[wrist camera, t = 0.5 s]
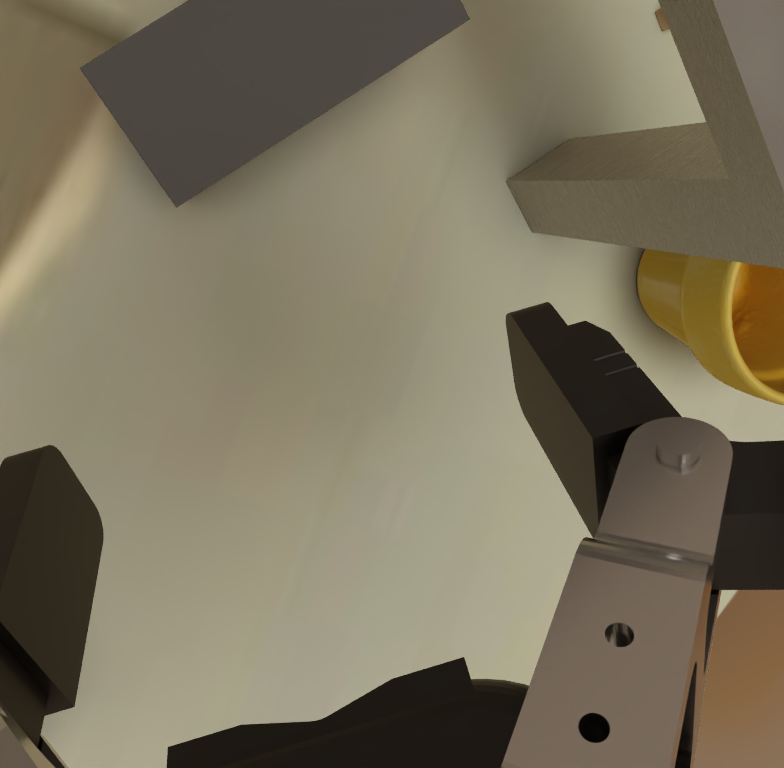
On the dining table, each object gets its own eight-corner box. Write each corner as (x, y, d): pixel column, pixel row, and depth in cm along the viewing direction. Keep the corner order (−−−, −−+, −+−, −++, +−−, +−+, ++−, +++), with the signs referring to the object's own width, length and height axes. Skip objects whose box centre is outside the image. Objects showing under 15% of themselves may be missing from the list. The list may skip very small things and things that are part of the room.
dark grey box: (114, 101, 33) (79, 68, 23) (360, -53, 33) (422, -146, 24) (183, 201, 34) (176, 207, 25) (415, 52, 35) (493, 3, 26)
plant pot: (766, 159, 41) (929, 152, 32) (771, 338, 44) (921, 379, 35) (596, 196, 39) (718, 199, 30) (614, 380, 42) (729, 435, 33)
